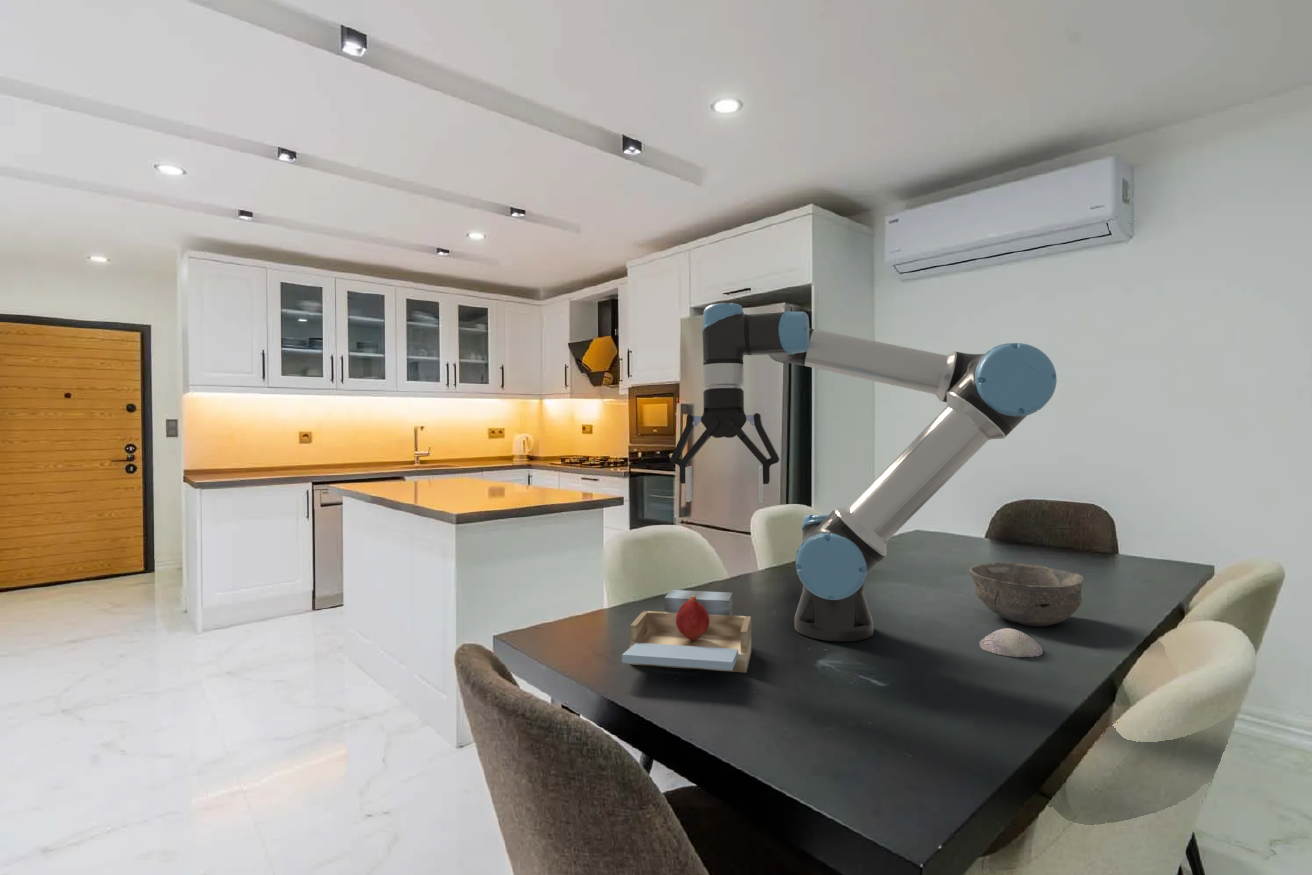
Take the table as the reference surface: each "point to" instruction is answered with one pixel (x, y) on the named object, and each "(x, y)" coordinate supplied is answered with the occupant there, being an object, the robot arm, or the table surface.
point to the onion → (692, 619)
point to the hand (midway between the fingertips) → (724, 501)
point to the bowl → (1028, 592)
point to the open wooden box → (719, 633)
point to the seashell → (1011, 644)
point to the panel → (681, 656)
